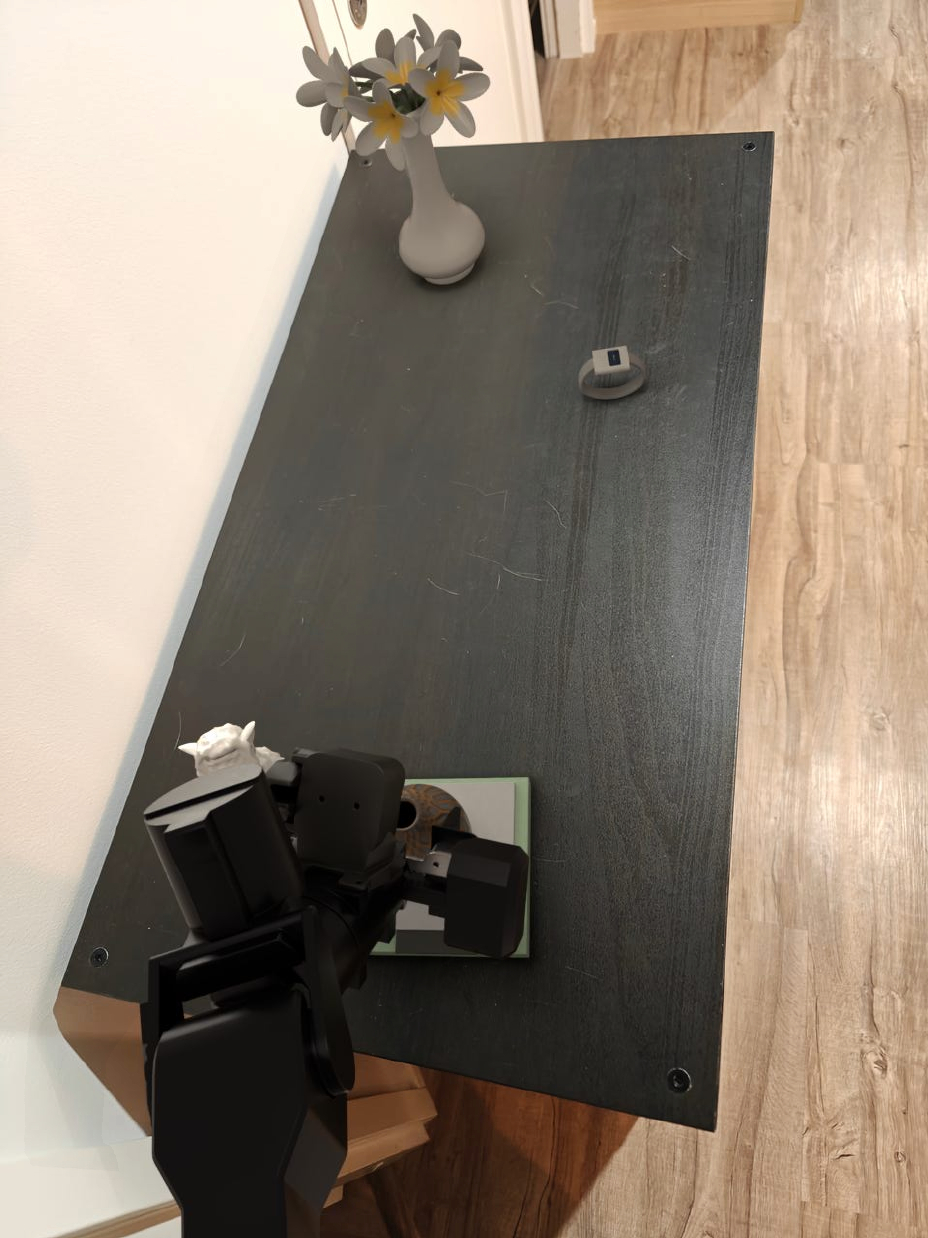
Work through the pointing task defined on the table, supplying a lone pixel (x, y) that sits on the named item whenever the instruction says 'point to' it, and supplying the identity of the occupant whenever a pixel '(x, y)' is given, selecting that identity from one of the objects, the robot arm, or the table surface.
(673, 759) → the table surface
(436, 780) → the scale
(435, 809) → the vase
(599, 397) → the wristwatch
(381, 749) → the table surface
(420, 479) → the table surface
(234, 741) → the sitting furry creature
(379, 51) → the flower vase
